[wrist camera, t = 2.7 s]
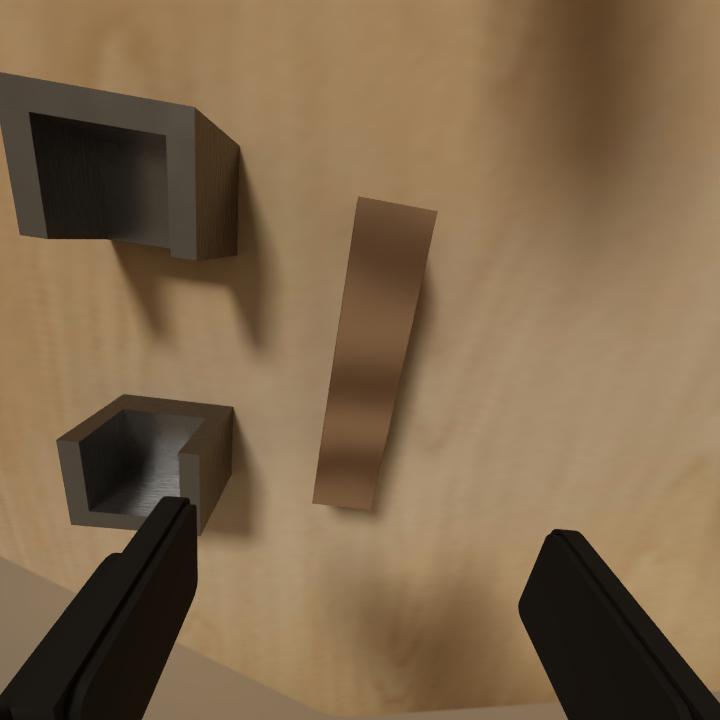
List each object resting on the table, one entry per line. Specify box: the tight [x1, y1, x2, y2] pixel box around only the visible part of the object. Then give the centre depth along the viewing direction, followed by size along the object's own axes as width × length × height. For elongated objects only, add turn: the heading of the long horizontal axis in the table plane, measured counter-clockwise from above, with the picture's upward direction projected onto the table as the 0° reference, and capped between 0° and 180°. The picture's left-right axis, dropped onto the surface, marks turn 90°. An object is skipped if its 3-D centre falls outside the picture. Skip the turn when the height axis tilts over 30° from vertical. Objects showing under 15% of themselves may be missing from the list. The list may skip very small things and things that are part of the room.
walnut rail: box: [312, 197, 438, 510], centre depth 22 cm, size 19×4×5 cm, turn 171°
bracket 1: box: [0, 72, 239, 261], centre depth 18 cm, size 6×8×6 cm
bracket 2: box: [56, 394, 233, 536], centre depth 23 cm, size 6×8×6 cm
